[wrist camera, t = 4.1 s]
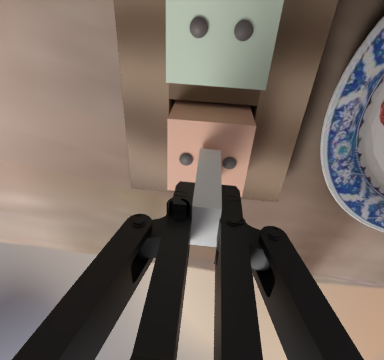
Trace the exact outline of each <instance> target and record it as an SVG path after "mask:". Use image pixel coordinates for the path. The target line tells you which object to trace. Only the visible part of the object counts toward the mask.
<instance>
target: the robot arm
mask: <svg viewBox="0 0 384 360" xmlns="http://www.w3.org/2000/svg"><path fill="white" fill-rule="evenodd" d="M190 244H191V245H201V246H211V247H216V245H217V248H216V255H215V261H214V264H215V316H214V360H263V356H262V349H261V341H260V332H259V324H258V317H257V308H256V300H255V292H254V284H253V275H254V278H255V280H256V282H257V285H258V288H259V290H260V292H261V295H262V297H263V300H264V302H265V305H266V307H267V310H268V312H269V315H270V317H271V320H272V322H273V325H274V327H275V330H276V332H277V335H278V337H279V339H280V342H281V344H282V347H283V350H284V352H285V354H286V357H287V359H288V360H364V359H363V358H362V356H361V354H360V353H359V351H358V350H357V348H356V346H355V345H354V343H353V341H352V340H351V338H350V337H349V335H348V333H347V332H346V330H345V329H344V327H343V325H342V324H341V322H340V321H339V319H338V317H337V316H336V314H335V312H334V311H333V310H332V308H331V306H330V304H329V303H328V301H327V299H326V298H325V296H324V295H323V293H322V291H321V290H320V288H319V286H318V285H317V283H316V282H315V280H314V278H313V277H312V275H311V274H310V272H309V270H308V269H307V267H306V265H305V264H304V262H303V261H302V259H301V257H300V256H299V254H298V253H297V251H296V249H295V248H294V246H293V244H292V243H291V241H290V240H289V238H288V236H287V235H286V233H285V232H284V231H283V230H281V229H279V228H277V227H274V226H267V227H264V228H262V229H261V230H258V229H255V228H253V227H251V226H249V225H248V224H247V223H246V222H245V219H243V214H242V205H241V197H240V191H239V189H238V188H237V187H236V186H232V185H222V184H221V150H214V149H202V148H200V151H199V159H198V166H197V174H196V181H195V183H194V182H183V181H180V182H179V183H178V184H177V185H176V187H175V192H174V196H173V198H171V199H170V200H168V202H167V215H166V216H165V217H163V218H160V219H154V220H151V218H150V217H149V216H147V215H145V214H135V215H133V216H130V217H129V218H128V219H127V220H126V221H125V222H124V224H123V225H122V226H121V227H120V229H119V230H118V231H117V232H116V233H115V235H114V236H113V237H112V238H111V240H110V241H109V242H108V243H107V244H106V246H105V247H104V248H103V249H102V250H101V252H100V253H99V254H98V255H97V257H96V258H95V259H94V260H93V261H92V263H91V264H90V265H89V266H88V268H87V269H86V270H85V271H84V272H83V274H82V275H81V276H80V277H79V278H78V280H77V281H76V282H75V283H74V285H73V286H72V287H71V288H70V289H69V291H68V292H67V293H66V294H65V296H64V297H63V298H62V299H61V300H60V302H59V303H58V304H57V305H56V307H55V308H54V309H53V310H52V311H51V313H50V314H49V315H48V316H47V318H46V319H45V320H44V321H43V322H42V324H41V325H40V326H39V327H38V328H37V330H36V331H35V332H34V333H33V335H32V336H31V337H30V338H29V339H28V341H27V342H26V343H25V344H24V346H23V347H22V348H21V349H20V350H19V352H18V353H17V354H16V355H15V356H14V358H13V359H12V360H95V358H96V356H97V355H98V353H99V351H100V350H101V348H102V346H103V344H104V343H105V341H106V339H107V337H108V336H109V334H110V332H111V331H112V329H113V327H114V326H115V324H116V322H117V320H118V319H119V317H120V315H121V313H122V312H123V310H124V308H125V307H126V305H127V303H128V301H129V300H130V298H131V296H132V295H133V293H134V291H135V289H136V288H137V286H138V284H139V282H140V281H141V279H142V277H143V276H144V274H145V272H146V270H147V269H148V267H149V265H150V264H151V262H152V260H153V258H156V260H155V264H154V269H153V273H152V277H151V281H150V285H149V289H148V293H147V297H146V301H145V305H144V309H143V313H142V317H141V321H140V325H139V329H138V333H137V337H136V341H135V345H134V349H133V353H132V356H131V359H130V360H176V359H177V350H178V342H179V333H180V324H181V317H182V308H183V300H184V290H185V283H186V274H187V266H188V257H189V247H190ZM252 273H253V275H252Z"/></svg>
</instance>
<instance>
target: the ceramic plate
mask: <svg viewBox="0 0 384 360" xmlns="http://www.w3.org/2000/svg"><path fill="white" fill-rule="evenodd" d="M320 156H321V165H322V171H323V174H324V178H325V181H326V184H327V186H328V188H329V190H330V192H331V194H332V195H333V197H334V199H335V200H336V201H337V203H338V204H339V205H340V206H341V207H342V208H343V209H344V210H345V211H346V212H347V213H348V214H349V215H351V216H352V217H353V218H355V219H356V220H358V221H359V222H361V223H363V224H365V225H367V226H369V227H371V228H374V229H376V230H378V231H382V232H384V16H383V17H382V18H381V19H380V20H379V21H378V22H377V24H376V25H375V26H374V28H373V29H372V31H371V32H370V33H369V35H368V36H367V37H366V39H365V40H364V41H363V43H362V44H361V45H360V47H359V48H358V49H357V51H356V52H355V54H354V55H353V57H352V59H351V60H350V62H349V63H348V65H347V67H346V68H345V70H344V72H343V74H342V76H341V78H340V80H339V82H338V84H337V85H336V88H335V90H334V92H333V95H332V97H331V100H330V102H329V105H328V108H327V112H326V115H325V118H324V123H323V128H322V133H321V144H320Z"/></svg>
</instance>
